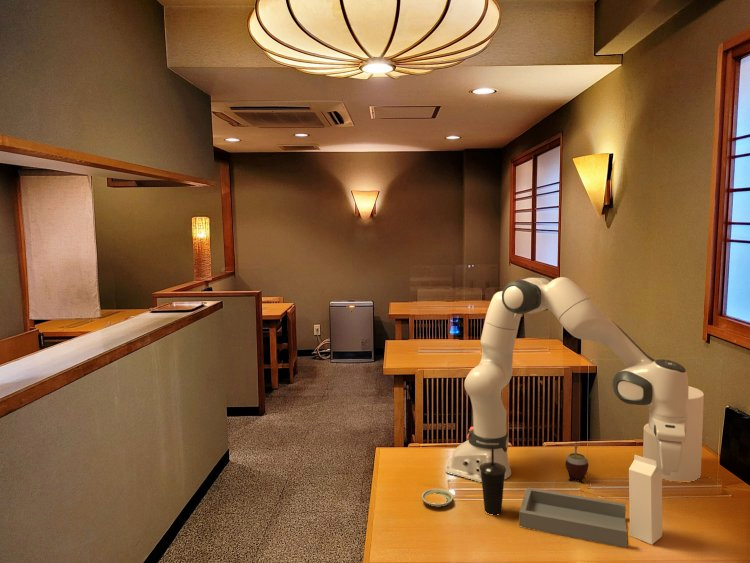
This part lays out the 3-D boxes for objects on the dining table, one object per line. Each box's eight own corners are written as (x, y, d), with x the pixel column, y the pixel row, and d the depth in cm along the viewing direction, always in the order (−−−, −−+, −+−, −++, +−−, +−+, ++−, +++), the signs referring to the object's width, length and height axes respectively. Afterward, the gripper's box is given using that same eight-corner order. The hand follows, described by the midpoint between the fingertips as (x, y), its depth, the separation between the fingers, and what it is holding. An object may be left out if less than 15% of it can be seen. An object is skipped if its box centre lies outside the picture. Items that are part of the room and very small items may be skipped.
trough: (519, 526, 151) (519, 511, 150) (526, 501, 164) (526, 487, 164) (626, 548, 140) (626, 531, 139) (625, 518, 153) (625, 503, 153)
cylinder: (701, 465, 184) (704, 387, 181) (700, 487, 170) (703, 402, 166) (645, 455, 193) (647, 380, 190) (639, 475, 179) (641, 394, 176)
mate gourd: (578, 472, 182) (578, 430, 180) (594, 483, 174) (595, 439, 173) (560, 476, 179) (560, 433, 178) (575, 487, 172) (576, 442, 170)
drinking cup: (507, 506, 162) (507, 443, 159) (504, 520, 154) (504, 454, 152) (481, 503, 164) (481, 440, 162) (478, 516, 157) (477, 451, 155)
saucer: (456, 498, 168) (456, 491, 167) (447, 514, 159) (447, 506, 159) (427, 493, 172) (427, 486, 171) (417, 508, 163) (417, 500, 163)
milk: (651, 545, 140) (651, 464, 138) (629, 535, 145) (628, 457, 143) (662, 536, 144) (662, 457, 142) (640, 527, 149) (639, 451, 147)
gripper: (651, 408, 150) (649, 455, 152) (657, 435, 131) (655, 488, 133) (677, 410, 147) (675, 458, 149) (686, 438, 129) (684, 493, 130)
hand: (665, 472), depth 141 cm, fingers closed
